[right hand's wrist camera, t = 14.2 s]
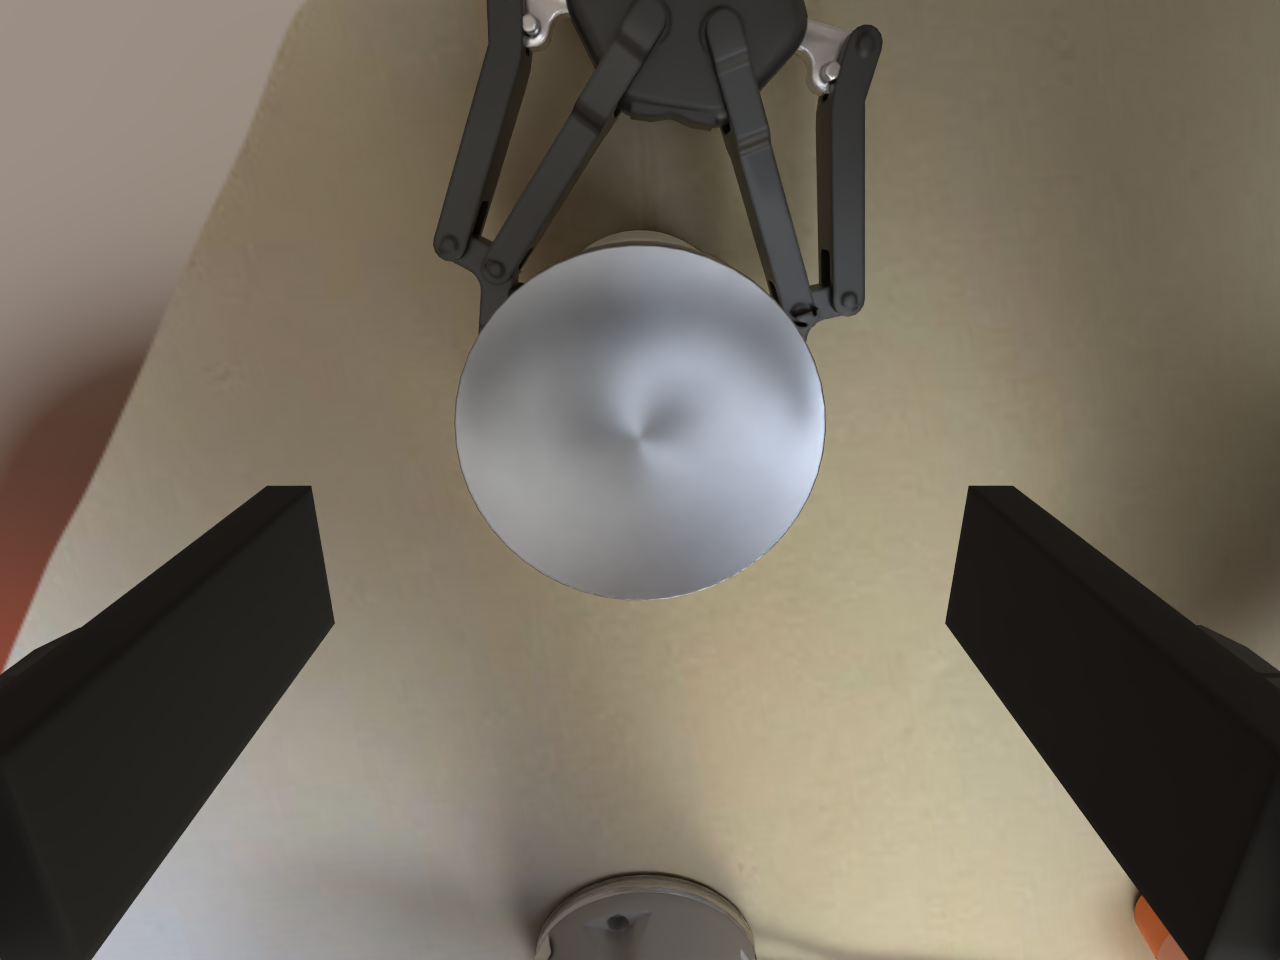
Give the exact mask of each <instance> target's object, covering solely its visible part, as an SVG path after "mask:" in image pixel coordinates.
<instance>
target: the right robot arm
mask: <svg viewBox="0 0 1280 960" xmlns="http://www.w3.org/2000/svg"><path fill="white" fill-rule="evenodd" d="M334 624H335V622H334V616H333V610H332V604H331V598H330V593H329V587H328V581H327V575H326V569H325V563H324V557H323V552H322V546H321V540H320V534H319V528H318V522H317V517H316V511H315V505H314V499H313V493H312V487H311V486H266V487H265V488H264V489H262V490H261V491H260V492H258V493H257V494H256V495H254V496H253V497H252V498H250V499H249V500H248V501H246V502H245V503H244V504H243V505H241V506H240V507H239V508H237V509H236V510H235V511H233V512H232V513H231V514H229V515H228V516H227V517H225V518H224V519H223V520H222V521H220V522H219V523H218V524H216V525H215V526H214V527H212V528H211V529H210V530H208V531H207V532H206V533H204V534H203V535H202V536H201V537H199V538H198V539H197V540H195V541H194V542H193V543H191V544H190V545H189V546H187V547H186V548H185V549H183V550H182V551H181V552H180V553H178V554H177V555H176V556H174V557H173V558H172V559H170V560H169V561H168V562H166V563H165V564H164V565H162V566H161V567H160V568H159V569H157V570H156V571H155V572H153V573H152V574H151V575H149V576H148V577H147V578H145V579H144V580H143V581H141V582H140V583H139V584H138V585H136V586H135V587H134V588H132V589H131V590H130V591H128V592H127V593H126V594H124V595H123V596H122V597H120V598H119V599H118V600H117V601H115V602H114V603H113V604H111V605H110V606H109V607H107V608H106V609H105V610H103V611H102V612H101V613H99V614H98V615H97V616H96V617H94V618H93V619H92V620H90V621H89V622H88V623H86V624H85V625H84V626H82V627H81V628H78V629H76V630H74V631H72V632H70V633H68V634H66V635H64V636H62V637H60V638H58V639H56V640H53V641H51V642H49V643H47V644H45V645H43V646H41V647H39V648H37V649H35V650H33V651H32V652H31V653H29V654H28V655H27V656H25V657H24V658H23V659H21V660H20V661H19V662H17V663H16V664H14V665H13V666H12V667H10V668H9V669H8V670H6V671H5V672H4V673H2V674H1V675H0V959H1V960H91V959H92V958H93V957H94V955H95V954H96V952H97V951H98V950H99V948H100V947H101V946H102V944H103V943H104V941H105V940H106V939H107V937H108V936H109V935H110V933H111V932H112V930H113V929H114V928H115V926H116V925H117V923H118V922H119V921H120V919H121V918H122V917H123V915H124V914H125V912H126V911H127V910H128V908H129V907H130V906H131V904H132V903H133V901H134V900H135V899H136V897H137V896H138V894H139V893H140V892H141V890H142V889H143V888H144V886H145V885H146V883H147V882H148V881H149V879H150V878H151V877H152V875H153V874H154V872H155V871H156V870H157V868H158V867H159V865H160V864H161V863H162V861H163V860H164V859H165V857H166V856H167V854H168V853H169V852H170V850H171V849H172V848H173V846H174V845H175V843H176V842H177V841H178V839H179V838H180V836H181V835H182V834H183V832H184V831H185V830H186V828H187V827H188V825H189V824H190V823H191V821H192V820H193V819H194V817H195V816H196V814H197V813H198V812H199V810H200V809H201V807H202V806H203V805H204V803H205V802H206V801H207V799H208V798H209V796H210V795H211V794H212V792H213V791H214V790H215V788H216V787H217V785H218V784H219V783H220V781H221V780H222V778H223V777H224V776H225V774H226V773H227V772H228V770H229V769H230V767H231V766H232V765H233V763H234V762H235V760H236V759H237V758H238V756H239V755H240V754H241V752H242V751H243V749H244V748H245V747H246V745H247V744H248V743H249V741H250V740H251V738H252V737H253V736H254V734H255V733H256V731H257V730H258V729H259V727H260V726H261V725H262V723H263V722H264V720H265V719H266V718H267V716H268V715H269V714H270V712H271V711H272V709H273V708H274V707H275V705H276V704H277V702H278V701H279V700H280V698H281V697H282V696H283V694H284V693H285V691H286V690H287V689H288V687H289V686H290V685H291V683H292V682H293V680H294V679H295V678H296V676H297V675H298V673H299V672H300V671H301V669H302V668H303V667H304V665H305V664H306V662H307V661H308V660H309V658H310V657H311V656H312V654H313V653H314V651H315V650H316V649H317V647H318V646H319V644H320V643H321V642H322V640H323V639H324V638H325V636H326V635H327V633H328V632H329V631H330V629H331V628H332V627H333V625H334ZM945 624H946V625H947V627H948V628H949V629H950V631H951V632H952V633H953V635H954V636H955V638H956V639H957V640H958V642H959V643H960V644H961V646H962V647H963V649H964V650H965V651H966V653H967V654H968V656H969V657H970V658H971V660H972V661H973V662H974V664H975V665H976V667H977V668H978V669H979V671H980V672H981V673H982V675H983V676H984V678H985V679H986V680H987V682H988V683H989V685H990V686H991V687H992V689H993V690H994V691H995V693H996V694H997V696H998V697H999V698H1000V700H1001V701H1002V702H1003V704H1004V705H1005V707H1006V708H1007V709H1008V711H1009V712H1010V714H1011V715H1012V716H1013V718H1014V719H1015V720H1016V722H1017V723H1018V725H1019V726H1020V727H1021V729H1022V730H1023V731H1024V733H1025V734H1026V736H1027V737H1028V738H1029V740H1030V741H1031V743H1032V744H1033V745H1034V747H1035V748H1036V749H1037V751H1038V752H1039V754H1040V755H1041V756H1042V758H1043V759H1044V760H1045V762H1046V763H1047V765H1048V766H1049V767H1050V769H1051V770H1052V772H1053V773H1054V774H1055V776H1056V777H1057V778H1058V780H1059V781H1060V783H1061V784H1062V785H1063V787H1064V788H1065V790H1066V791H1067V792H1068V794H1069V795H1070V796H1071V798H1072V799H1073V801H1074V802H1075V803H1076V805H1077V806H1078V807H1079V809H1080V810H1081V812H1082V813H1083V814H1084V816H1085V817H1086V819H1087V820H1088V821H1089V823H1090V824H1091V825H1092V827H1093V828H1094V830H1095V831H1096V832H1097V834H1098V835H1099V836H1100V838H1101V839H1102V841H1103V842H1104V843H1105V845H1106V846H1107V848H1108V849H1109V850H1110V852H1111V853H1112V854H1113V856H1114V857H1115V859H1116V860H1117V861H1118V863H1119V864H1120V865H1121V867H1122V868H1123V870H1124V871H1125V872H1126V874H1127V875H1128V877H1129V878H1130V879H1131V881H1132V882H1133V883H1134V885H1135V886H1136V888H1137V889H1138V890H1139V892H1140V893H1141V894H1142V896H1143V897H1144V899H1145V900H1146V901H1147V903H1148V904H1149V906H1150V907H1151V908H1152V910H1153V911H1154V912H1155V914H1156V915H1157V917H1158V918H1159V919H1160V921H1161V922H1162V923H1163V925H1164V926H1165V928H1166V929H1167V930H1168V932H1169V933H1170V935H1171V936H1172V937H1173V939H1174V940H1175V941H1176V943H1177V944H1178V946H1179V947H1180V948H1181V950H1182V951H1183V952H1184V954H1185V955H1186V957H1187V958H1188V959H1189V960H1279V959H1280V671H1279V670H1277V669H1276V668H1274V667H1273V666H1272V665H1270V664H1269V663H1268V662H1266V661H1265V660H1264V659H1262V658H1261V657H1260V656H1258V655H1257V654H1255V653H1254V652H1253V651H1251V650H1250V649H1249V648H1247V647H1245V646H1243V645H1241V644H1239V643H1237V642H1235V641H1233V640H1231V639H1229V638H1227V637H1225V636H1223V635H1221V634H1219V633H1217V632H1214V631H1212V630H1210V629H1208V628H1206V627H1204V626H1202V625H1195V624H1194V623H1192V622H1191V621H1190V620H1188V619H1187V618H1186V617H1184V616H1183V615H1182V614H1181V613H1179V612H1178V611H1177V610H1175V609H1174V608H1173V607H1171V606H1170V605H1169V604H1167V603H1166V602H1165V601H1163V600H1162V599H1161V598H1160V597H1158V596H1157V595H1156V594H1154V593H1153V592H1152V591H1150V590H1149V589H1148V588H1146V587H1145V586H1144V585H1142V584H1141V583H1140V582H1139V581H1137V580H1136V579H1135V578H1133V577H1132V576H1131V575H1129V574H1128V573H1127V572H1125V571H1124V570H1123V569H1121V568H1120V567H1119V566H1118V565H1116V564H1115V563H1114V562H1112V561H1111V560H1110V559H1108V558H1107V557H1106V556H1104V555H1103V554H1102V553H1100V552H1099V551H1098V550H1097V549H1095V548H1094V547H1093V546H1091V545H1090V544H1089V543H1087V542H1086V541H1085V540H1083V539H1082V538H1081V537H1079V536H1078V535H1077V534H1076V533H1074V532H1073V531H1072V530H1070V529H1069V528H1068V527H1066V526H1065V525H1064V524H1062V523H1061V522H1060V521H1058V520H1057V519H1056V518H1055V517H1053V516H1052V515H1051V514H1049V513H1048V512H1047V511H1045V510H1044V509H1043V508H1041V507H1040V506H1039V505H1037V504H1036V503H1035V502H1033V501H1032V500H1031V499H1030V498H1028V497H1027V496H1026V495H1024V494H1023V493H1022V492H1020V491H1019V490H1018V489H1016V488H1015V487H1014V486H969V487H968V493H967V499H966V505H965V511H964V517H963V522H962V528H961V534H960V540H959V546H958V552H957V557H956V563H955V569H954V575H953V581H952V587H951V593H950V598H949V604H948V610H947V616H946V622H945ZM534 960H757V959H756V953H755V946H754V941H753V937H752V933H751V931H750V928H749V926H748V924H747V923H746V921H745V919H744V918H743V916H742V915H741V914H740V912H739V911H738V910H737V909H736V908H735V907H734V906H733V905H732V904H731V903H729V902H728V901H727V900H726V899H724V898H723V897H722V896H720V895H719V894H717V893H715V892H714V891H712V890H710V889H708V888H706V887H704V886H701V885H699V884H696V883H693V882H690V881H687V880H683V879H679V878H674V877H669V876H661V875H631V876H623V877H617V878H612V879H608V880H604V881H601V882H598V883H595V884H593V885H590V886H588V887H586V888H584V889H582V890H580V891H578V892H576V893H574V894H573V895H571V896H570V897H568V898H567V899H566V900H564V901H563V902H562V903H561V904H559V905H558V906H557V907H556V908H555V909H554V910H553V912H552V913H551V914H550V915H549V917H548V918H547V920H546V921H545V923H544V924H543V927H542V929H541V931H540V934H539V937H538V941H537V947H536V954H535V958H534Z"/></svg>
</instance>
